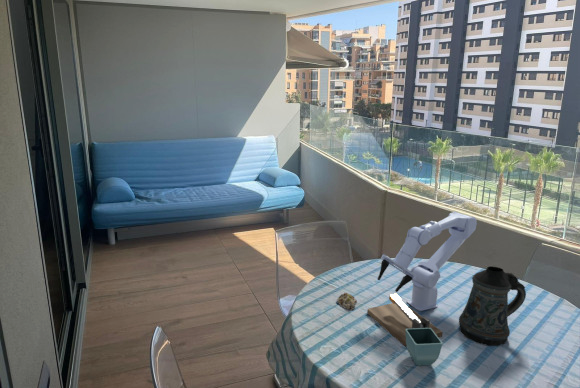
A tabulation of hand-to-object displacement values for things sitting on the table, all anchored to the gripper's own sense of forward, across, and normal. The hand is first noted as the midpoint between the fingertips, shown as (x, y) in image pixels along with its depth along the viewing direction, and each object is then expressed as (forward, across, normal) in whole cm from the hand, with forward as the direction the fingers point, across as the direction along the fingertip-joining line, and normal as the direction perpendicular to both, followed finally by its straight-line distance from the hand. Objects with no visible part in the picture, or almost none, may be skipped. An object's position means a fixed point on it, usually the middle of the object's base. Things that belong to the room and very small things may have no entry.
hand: (387, 285), depth 148 cm
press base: (+9, +12, +2) cm, 15 cm away
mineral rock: (+15, -8, +14) cm, 21 cm away
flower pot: (+15, +19, -17) cm, 30 cm away
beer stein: (-6, +38, +1) cm, 38 cm away
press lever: (+5, +11, -1) cm, 12 cm away
